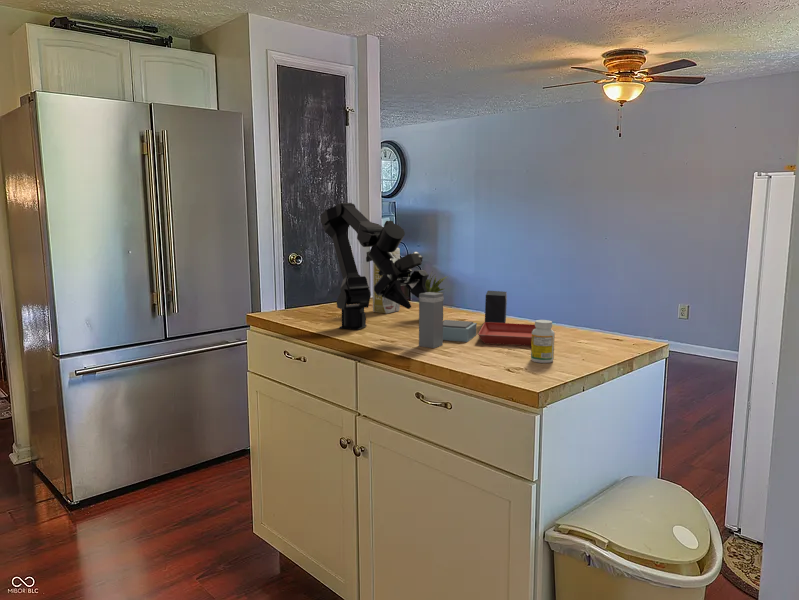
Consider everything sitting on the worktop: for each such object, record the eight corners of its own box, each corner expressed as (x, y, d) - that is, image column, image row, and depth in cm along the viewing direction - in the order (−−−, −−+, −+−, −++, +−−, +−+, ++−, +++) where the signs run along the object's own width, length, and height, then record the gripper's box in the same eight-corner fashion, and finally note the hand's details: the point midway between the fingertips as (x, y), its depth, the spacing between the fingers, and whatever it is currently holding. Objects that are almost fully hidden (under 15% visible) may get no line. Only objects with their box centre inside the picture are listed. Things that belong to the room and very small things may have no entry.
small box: (505, 329, 184) (506, 295, 182) (484, 328, 185) (484, 294, 183) (506, 323, 194) (507, 290, 192) (486, 322, 195) (486, 290, 194)
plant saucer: (546, 349, 158) (546, 337, 157) (477, 345, 162) (477, 333, 162) (546, 336, 175) (546, 324, 175) (483, 333, 179) (484, 322, 179)
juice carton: (385, 308, 221) (385, 243, 218) (402, 311, 217) (403, 244, 213) (369, 312, 214) (369, 244, 210) (387, 314, 209) (387, 245, 206)
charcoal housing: (418, 345, 160) (418, 293, 158) (428, 342, 164) (428, 291, 162) (433, 348, 157) (434, 295, 155) (443, 345, 161) (443, 293, 159)
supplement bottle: (547, 364, 141) (548, 324, 139) (526, 360, 144) (527, 321, 143) (557, 360, 145) (559, 321, 143) (537, 356, 148) (538, 318, 147)
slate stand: (432, 339, 169) (433, 325, 168) (443, 332, 178) (443, 319, 177) (467, 341, 165) (467, 327, 165) (476, 335, 174) (476, 321, 174)
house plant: (397, 321, 196) (397, 271, 194) (412, 314, 209) (413, 267, 206) (438, 324, 191) (439, 273, 188) (452, 317, 203) (452, 269, 201)
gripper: (382, 243, 154) (417, 289, 149) (423, 241, 169) (456, 282, 164) (359, 272, 160) (392, 317, 155) (400, 267, 175) (432, 308, 170)
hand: (419, 305), depth 161 cm, fingers open, 9 cm apart
